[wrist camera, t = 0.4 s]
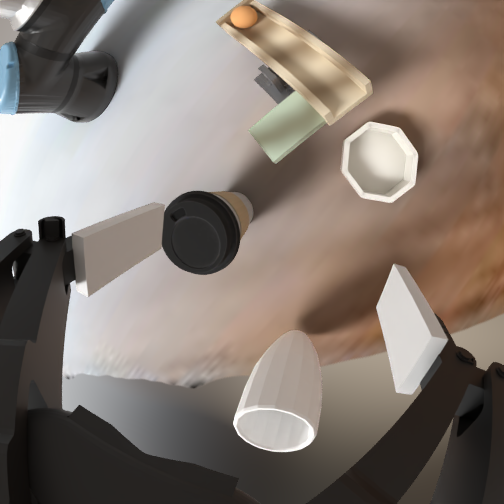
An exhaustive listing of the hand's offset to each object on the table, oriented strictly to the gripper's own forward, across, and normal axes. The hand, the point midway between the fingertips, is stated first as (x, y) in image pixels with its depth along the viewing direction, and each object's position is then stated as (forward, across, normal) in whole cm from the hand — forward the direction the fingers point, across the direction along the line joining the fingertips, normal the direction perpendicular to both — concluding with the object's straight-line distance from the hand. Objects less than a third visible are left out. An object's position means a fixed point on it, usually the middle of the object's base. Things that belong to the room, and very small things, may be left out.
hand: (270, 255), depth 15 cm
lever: (+20, -7, +15) cm, 26 cm away
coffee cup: (+27, -9, -5) cm, 29 cm away
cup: (+27, +5, -23) cm, 35 cm away
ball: (+20, -12, +23) cm, 33 cm away
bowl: (+27, +9, +7) cm, 29 cm away
